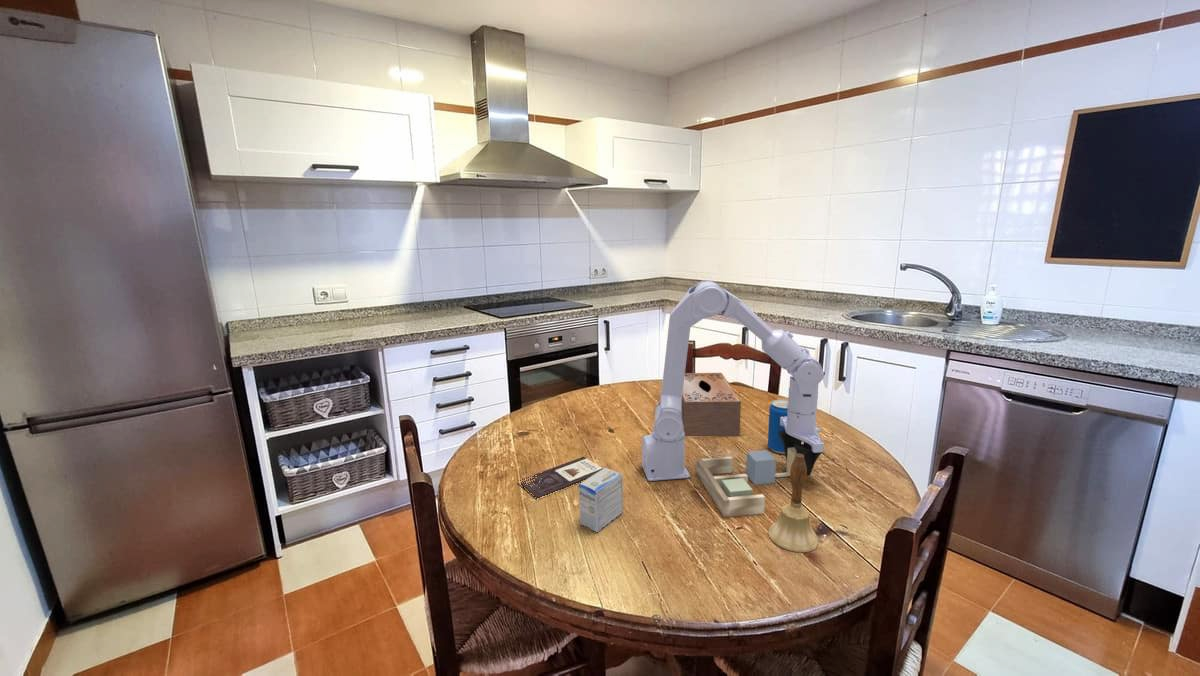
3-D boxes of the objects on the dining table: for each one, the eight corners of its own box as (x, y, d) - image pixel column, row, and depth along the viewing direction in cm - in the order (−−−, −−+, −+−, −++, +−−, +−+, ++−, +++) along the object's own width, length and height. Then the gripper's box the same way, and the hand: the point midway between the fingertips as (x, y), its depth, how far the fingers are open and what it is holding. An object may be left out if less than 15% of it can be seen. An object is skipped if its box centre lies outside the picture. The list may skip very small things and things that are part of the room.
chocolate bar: (517, 480, 104) (583, 456, 115) (517, 484, 105) (583, 460, 115) (537, 498, 97) (606, 470, 108) (537, 502, 98) (606, 474, 108)
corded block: (754, 484, 101) (755, 459, 99) (746, 474, 105) (747, 449, 104) (808, 480, 102) (809, 454, 100) (797, 470, 106) (798, 445, 105)
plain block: (729, 510, 92) (730, 491, 91) (721, 497, 96) (721, 480, 95) (751, 508, 92) (752, 489, 92) (742, 495, 97) (743, 478, 96)
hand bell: (825, 535, 83) (832, 452, 80) (809, 559, 77) (815, 471, 74) (778, 517, 89) (783, 439, 85) (760, 539, 83) (764, 456, 79)
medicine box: (605, 506, 95) (604, 466, 93) (623, 513, 92) (622, 473, 90) (579, 525, 89) (577, 483, 87) (598, 534, 86) (596, 491, 84)
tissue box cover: (675, 403, 150) (675, 373, 148) (720, 402, 150) (721, 372, 147) (684, 437, 125) (684, 402, 123) (739, 437, 124) (740, 401, 122)
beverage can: (798, 456, 112) (801, 409, 110) (769, 454, 114) (771, 407, 111) (792, 444, 119) (795, 399, 116) (765, 443, 120) (768, 398, 117)
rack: (723, 517, 90) (724, 500, 89) (696, 473, 106) (696, 459, 105) (764, 513, 90) (765, 497, 90) (730, 470, 107) (731, 456, 106)
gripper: (840, 421, 94) (834, 483, 97) (802, 397, 108) (798, 452, 111) (806, 424, 93) (802, 486, 96) (772, 399, 107) (769, 454, 110)
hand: (798, 468), depth 103 cm, fingers open, 5 cm apart
